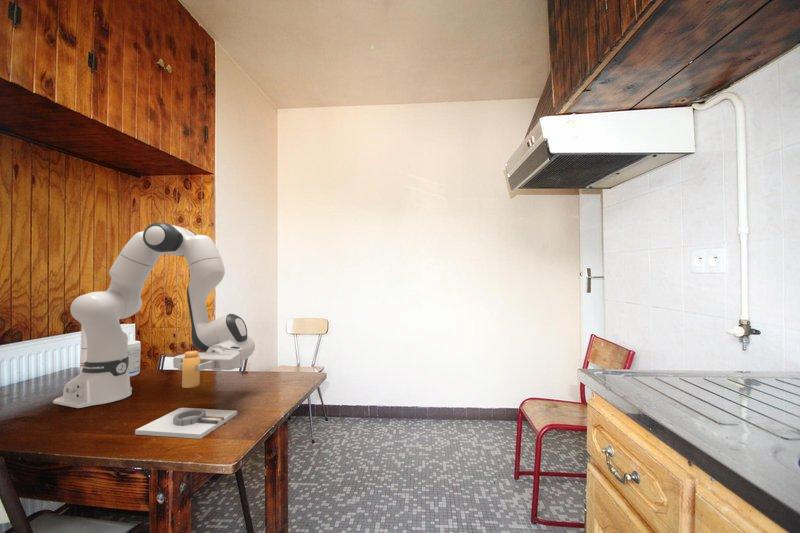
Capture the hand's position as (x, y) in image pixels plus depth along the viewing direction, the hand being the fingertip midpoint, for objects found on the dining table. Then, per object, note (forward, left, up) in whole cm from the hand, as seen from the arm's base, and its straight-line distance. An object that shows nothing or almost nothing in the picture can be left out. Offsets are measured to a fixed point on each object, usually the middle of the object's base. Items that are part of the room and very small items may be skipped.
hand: (188, 367), depth 97 cm
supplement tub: (-66, +42, -17) cm, 80 cm away
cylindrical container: (-82, +40, -17) cm, 93 cm away
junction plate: (0, +1, -17) cm, 17 cm away
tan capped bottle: (0, +1, -5) cm, 6 cm away
